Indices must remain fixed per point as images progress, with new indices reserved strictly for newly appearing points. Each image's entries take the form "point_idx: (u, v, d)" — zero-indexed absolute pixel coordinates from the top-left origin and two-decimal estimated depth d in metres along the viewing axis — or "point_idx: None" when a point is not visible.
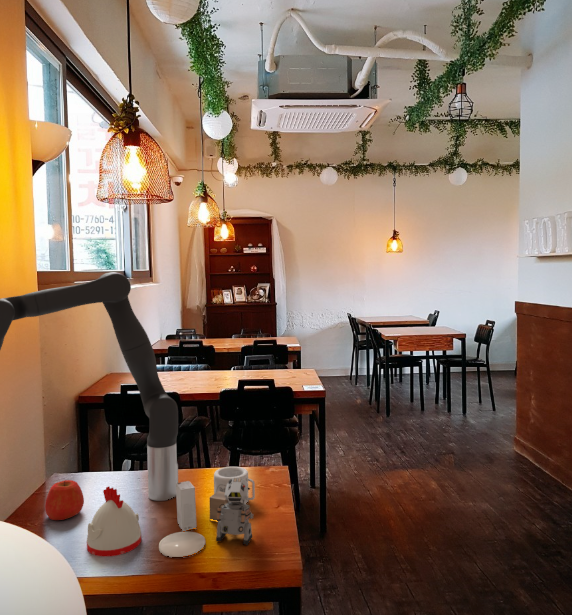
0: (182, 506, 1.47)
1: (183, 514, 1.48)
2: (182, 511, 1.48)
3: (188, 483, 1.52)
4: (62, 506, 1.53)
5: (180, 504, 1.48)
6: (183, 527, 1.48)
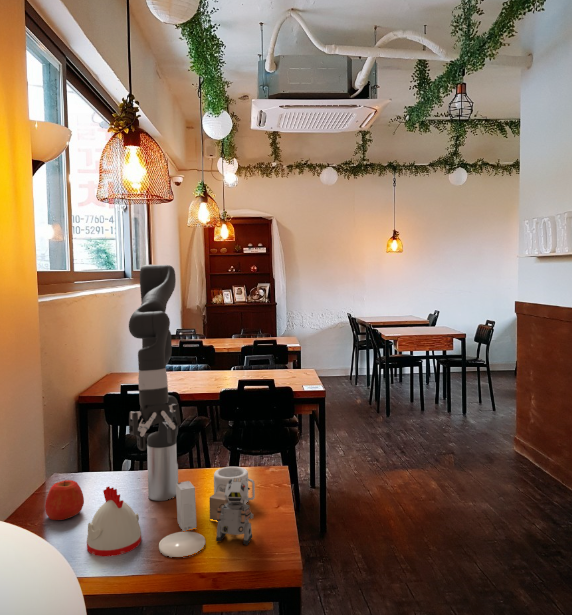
0: (182, 506, 1.47)
1: (183, 514, 1.48)
2: (182, 511, 1.48)
3: (189, 483, 1.52)
4: (62, 506, 1.53)
5: (180, 504, 1.48)
6: (183, 527, 1.48)
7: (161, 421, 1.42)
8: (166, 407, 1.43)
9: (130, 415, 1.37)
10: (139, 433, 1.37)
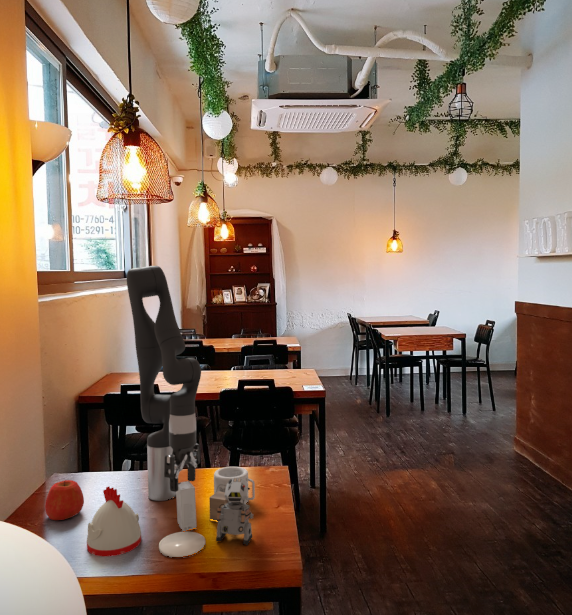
0: (182, 506, 1.47)
1: (183, 514, 1.48)
2: (182, 511, 1.48)
3: (189, 482, 1.52)
4: (62, 506, 1.53)
5: (180, 504, 1.48)
6: (183, 527, 1.48)
7: (188, 461, 1.50)
8: (191, 448, 1.52)
9: (167, 459, 1.43)
10: (174, 475, 1.45)
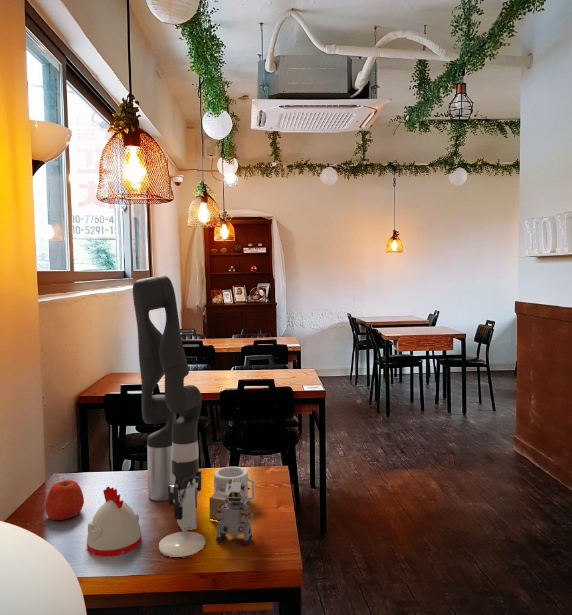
0: None
1: (183, 514, 1.48)
2: None
3: None
4: (62, 506, 1.53)
5: None
6: (183, 527, 1.48)
7: None
8: (194, 474, 1.53)
9: (170, 489, 1.44)
10: (178, 504, 1.46)
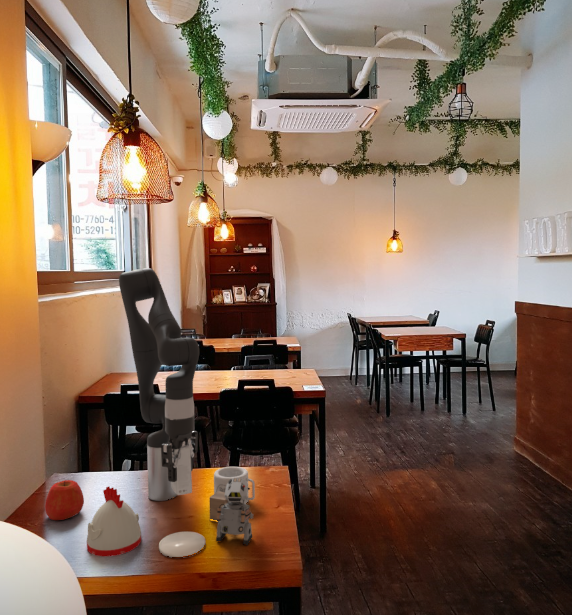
0: None
1: (177, 476, 1.36)
2: None
3: None
4: (62, 506, 1.53)
5: None
6: (177, 490, 1.36)
7: None
8: (189, 434, 1.41)
9: (164, 448, 1.32)
10: (172, 465, 1.34)
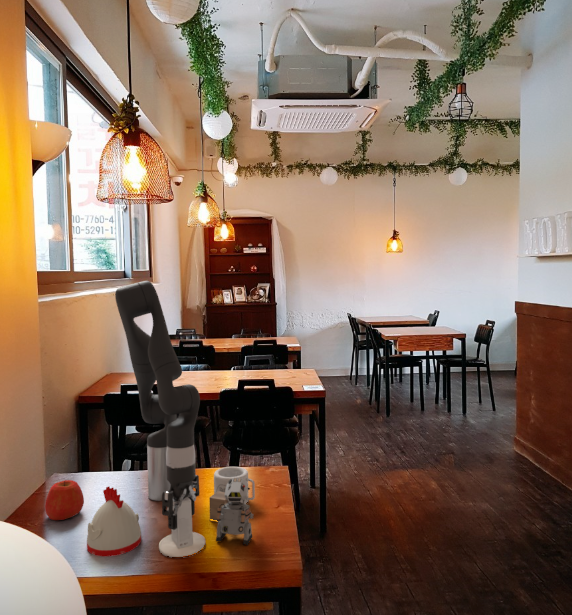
0: (177, 521, 1.36)
1: (179, 529, 1.36)
2: (177, 526, 1.36)
3: None
4: (62, 506, 1.53)
5: None
6: (179, 543, 1.36)
7: (187, 495, 1.40)
8: (190, 480, 1.42)
9: (165, 496, 1.33)
10: (173, 513, 1.34)
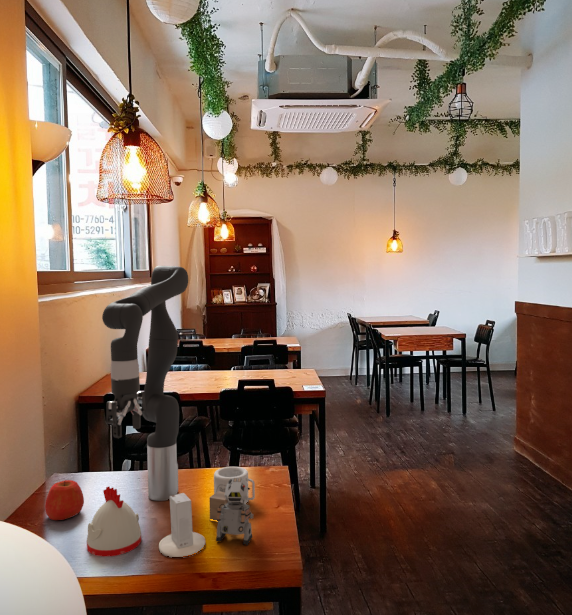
0: (178, 521, 1.36)
1: (179, 529, 1.36)
2: (178, 526, 1.36)
3: (184, 495, 1.41)
4: (62, 506, 1.53)
5: (175, 519, 1.37)
6: (179, 543, 1.36)
7: (132, 408, 1.48)
8: (135, 395, 1.49)
9: (109, 405, 1.40)
10: (117, 422, 1.42)
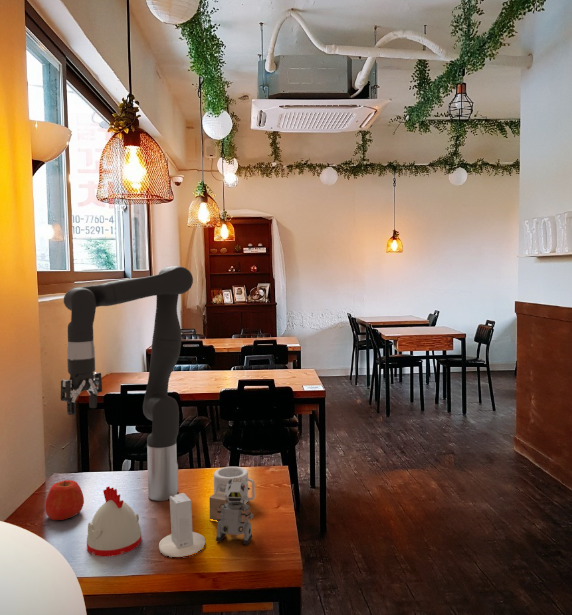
0: (178, 521, 1.36)
1: (179, 529, 1.36)
2: (178, 526, 1.36)
3: (184, 495, 1.41)
4: (62, 506, 1.53)
5: (175, 519, 1.37)
6: (179, 543, 1.36)
7: (87, 388, 1.56)
8: (91, 375, 1.57)
9: (63, 383, 1.49)
10: (71, 399, 1.50)
